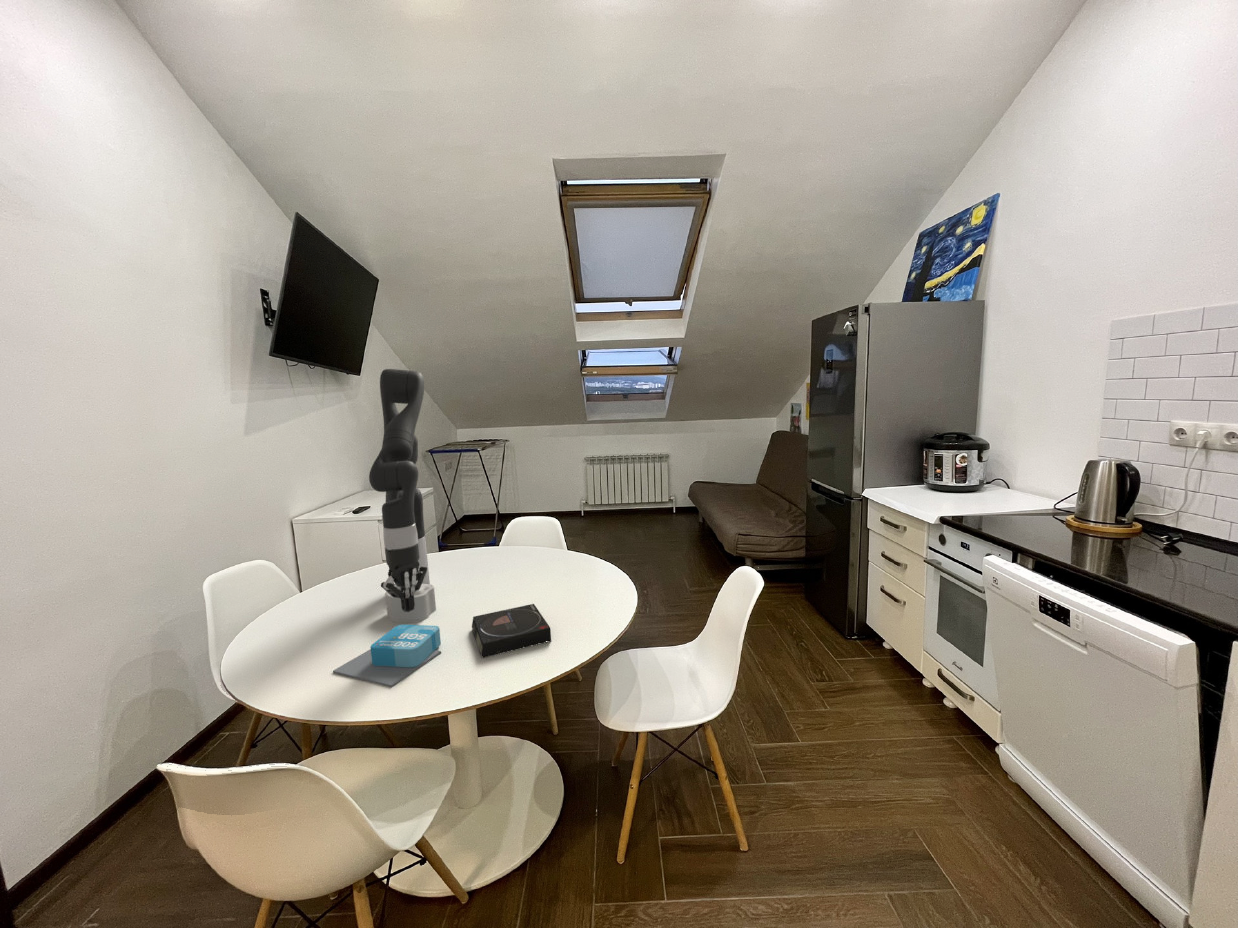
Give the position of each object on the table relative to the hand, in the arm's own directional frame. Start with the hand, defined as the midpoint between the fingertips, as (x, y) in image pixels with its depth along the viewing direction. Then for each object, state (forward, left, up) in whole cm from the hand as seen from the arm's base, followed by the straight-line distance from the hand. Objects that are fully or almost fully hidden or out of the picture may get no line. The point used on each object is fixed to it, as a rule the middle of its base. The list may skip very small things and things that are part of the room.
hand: (408, 610), depth 122 cm
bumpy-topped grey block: (-16, +15, -10) cm, 24 cm away
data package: (+1, +2, -7) cm, 7 cm away
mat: (0, -8, -10) cm, 12 cm away
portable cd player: (+20, +13, -10) cm, 26 cm away
